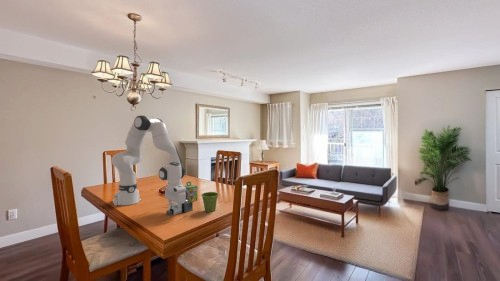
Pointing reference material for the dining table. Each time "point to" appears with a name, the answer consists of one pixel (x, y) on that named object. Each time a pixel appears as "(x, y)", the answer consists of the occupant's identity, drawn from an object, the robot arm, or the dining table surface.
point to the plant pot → (210, 201)
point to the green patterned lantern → (191, 192)
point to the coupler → (183, 207)
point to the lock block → (175, 208)
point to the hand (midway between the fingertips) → (174, 207)
